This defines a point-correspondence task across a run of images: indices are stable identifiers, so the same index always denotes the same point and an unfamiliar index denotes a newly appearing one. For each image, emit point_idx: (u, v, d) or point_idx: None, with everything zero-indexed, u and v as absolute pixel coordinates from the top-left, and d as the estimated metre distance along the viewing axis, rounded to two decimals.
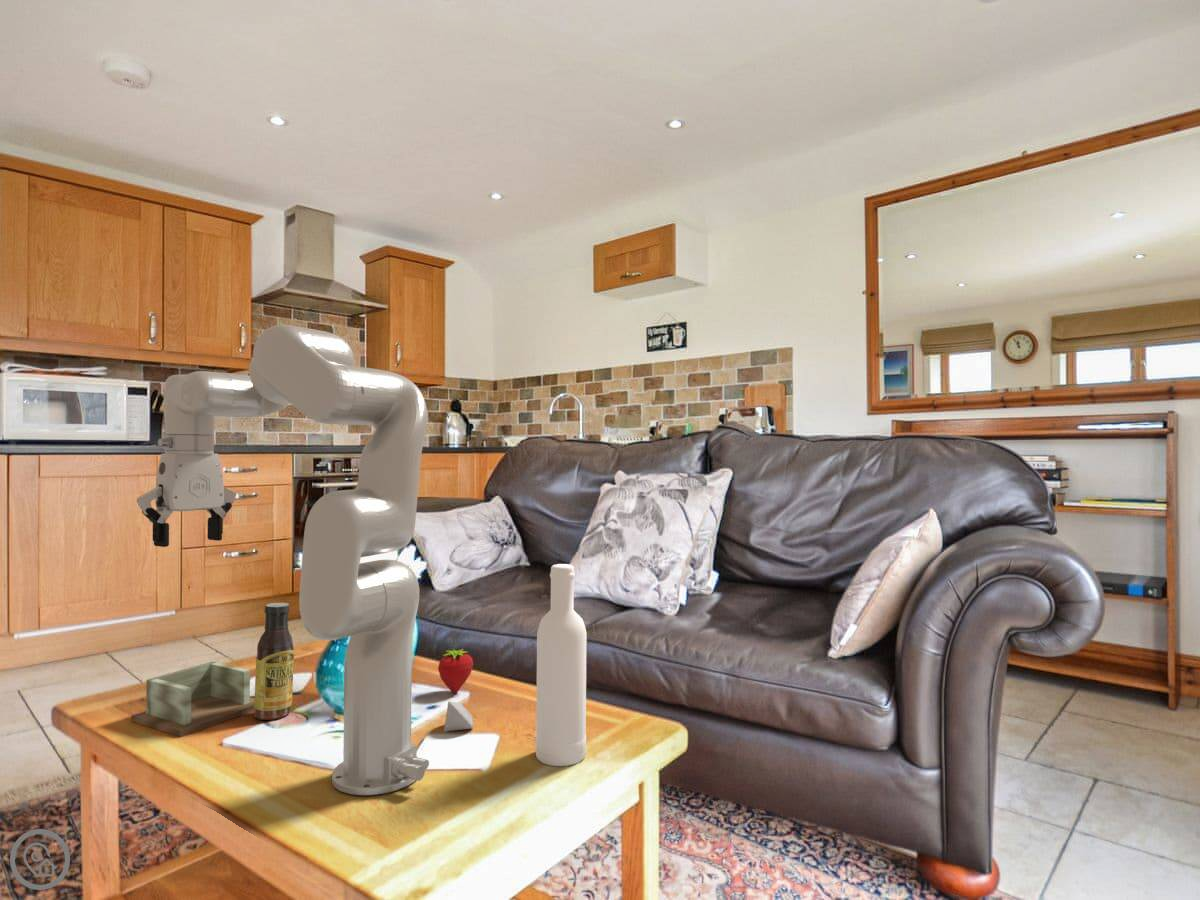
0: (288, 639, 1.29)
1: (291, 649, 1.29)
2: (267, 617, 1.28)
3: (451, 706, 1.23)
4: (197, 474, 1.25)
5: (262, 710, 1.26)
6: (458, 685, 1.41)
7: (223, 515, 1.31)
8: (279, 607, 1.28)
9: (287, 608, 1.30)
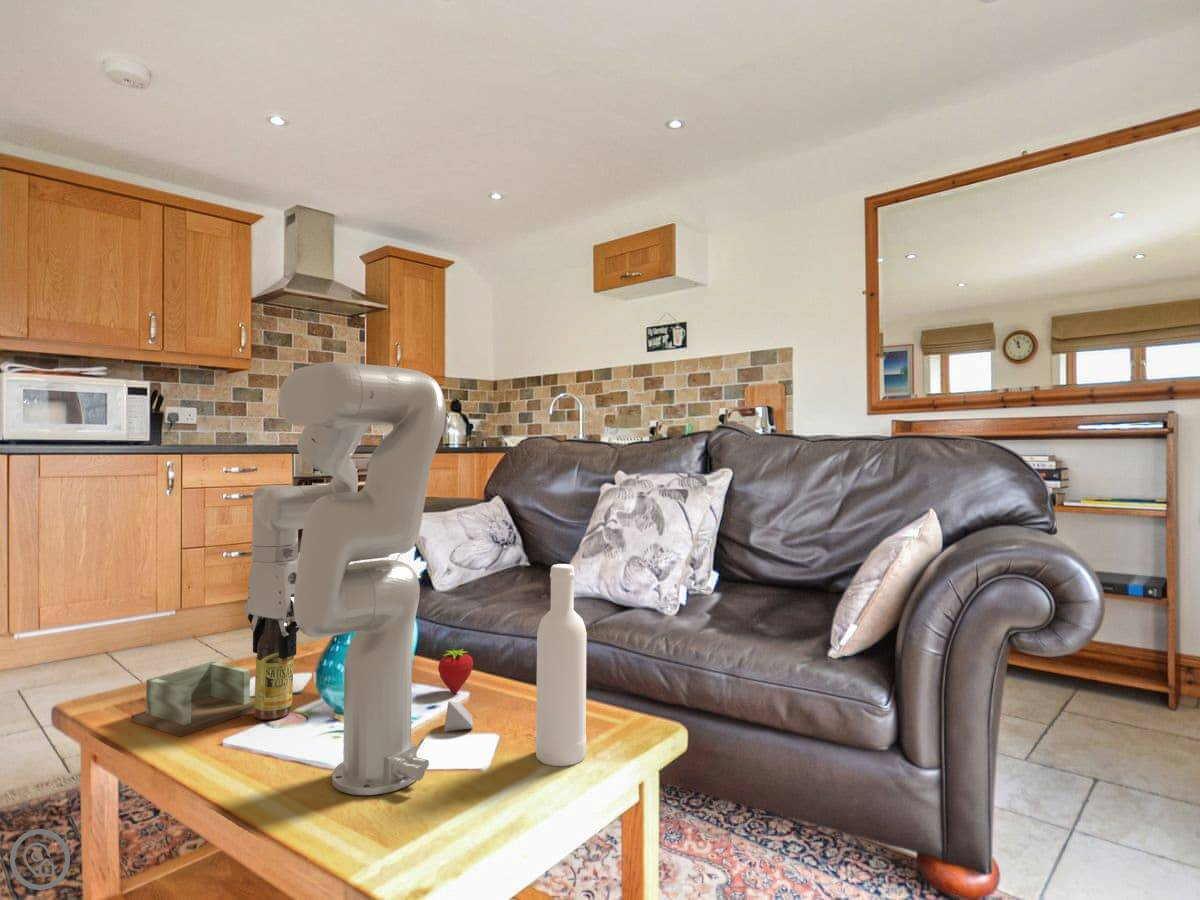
0: None
1: None
2: None
3: (450, 706, 1.23)
4: None
5: (262, 710, 1.26)
6: (458, 685, 1.41)
7: None
8: None
9: None
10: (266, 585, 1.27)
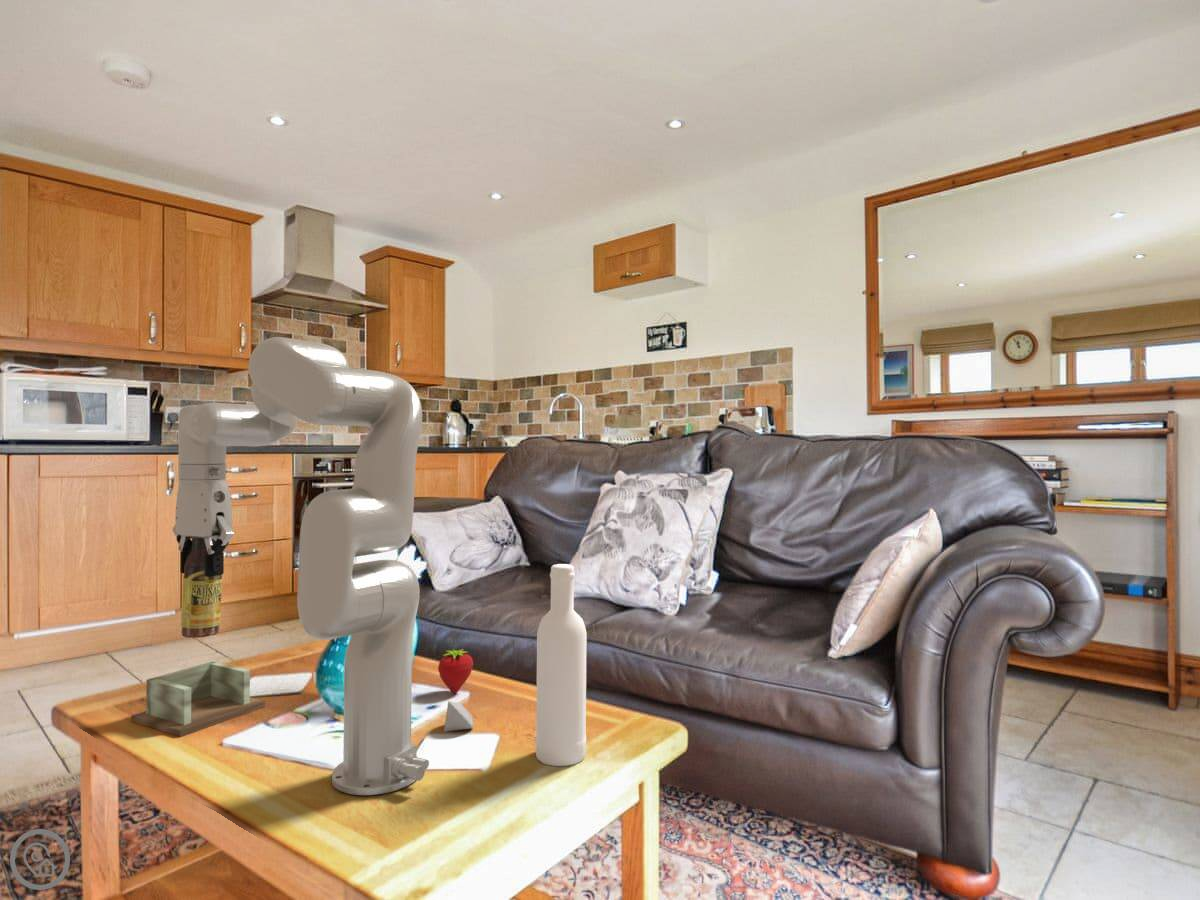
0: None
1: None
2: None
3: (450, 706, 1.23)
4: None
5: (188, 628, 1.27)
6: (458, 685, 1.41)
7: None
8: None
9: None
10: (192, 503, 1.27)
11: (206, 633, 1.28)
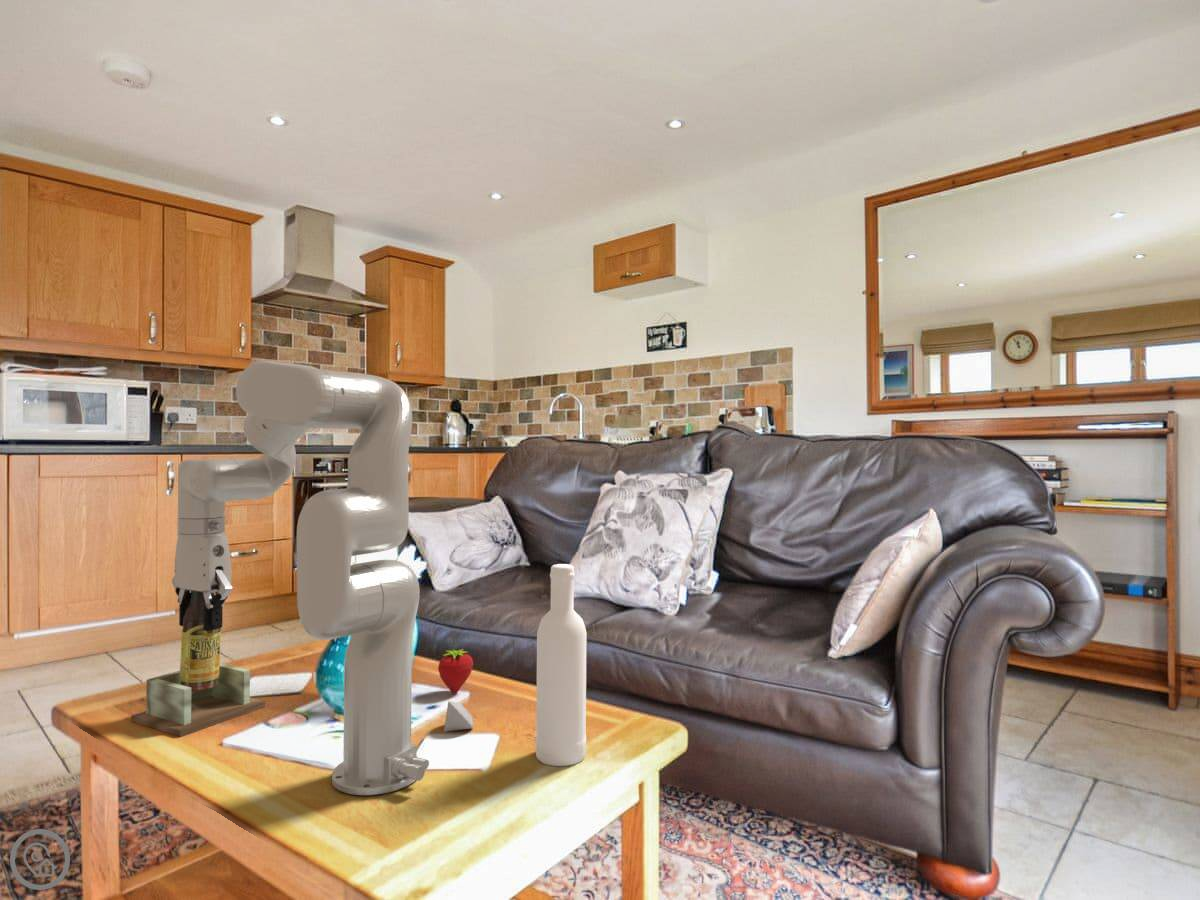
0: None
1: None
2: None
3: (450, 706, 1.23)
4: None
5: (186, 682, 1.27)
6: (458, 685, 1.41)
7: None
8: None
9: None
10: (191, 558, 1.27)
11: (205, 687, 1.28)
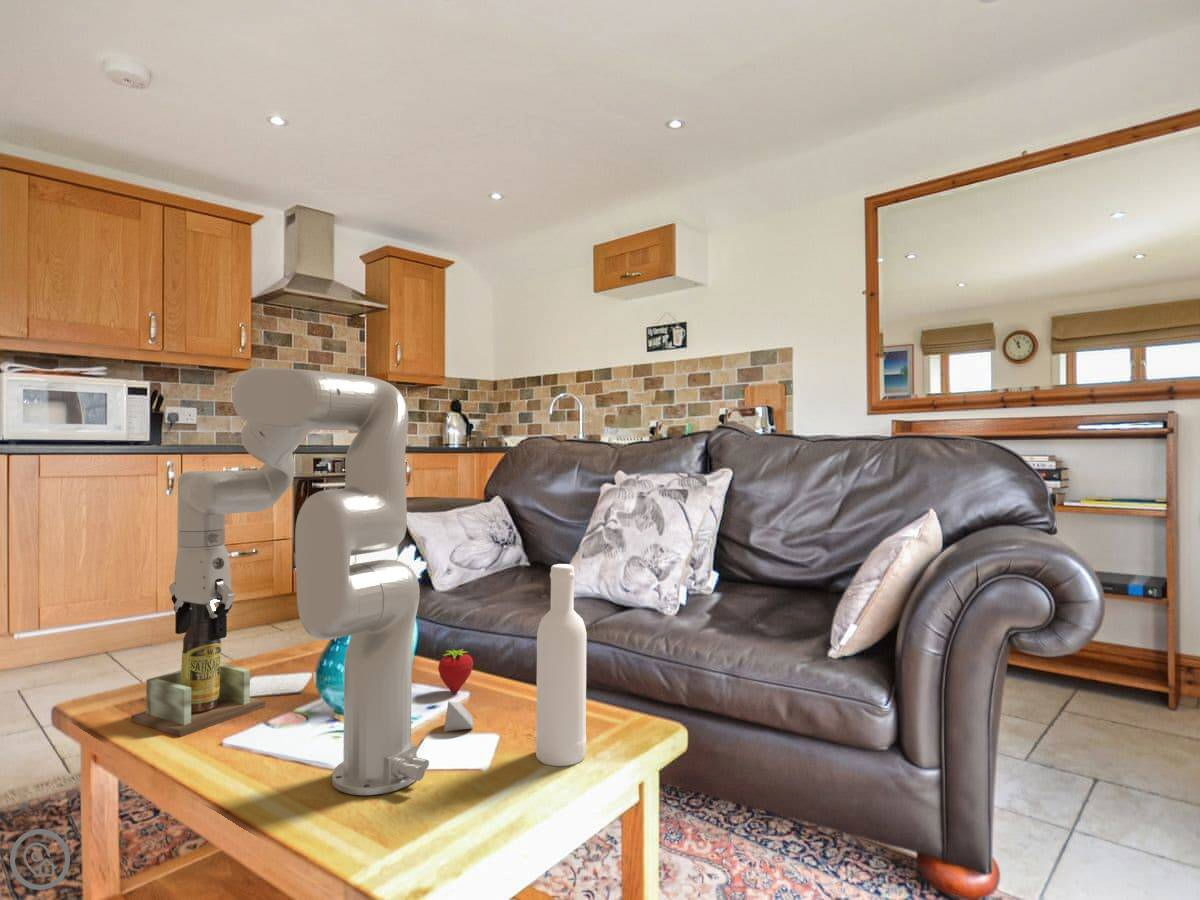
0: None
1: (217, 642, 1.30)
2: (193, 610, 1.29)
3: (450, 706, 1.23)
4: None
5: None
6: (458, 685, 1.41)
7: None
8: None
9: None
10: (191, 570, 1.27)
11: (205, 708, 1.28)
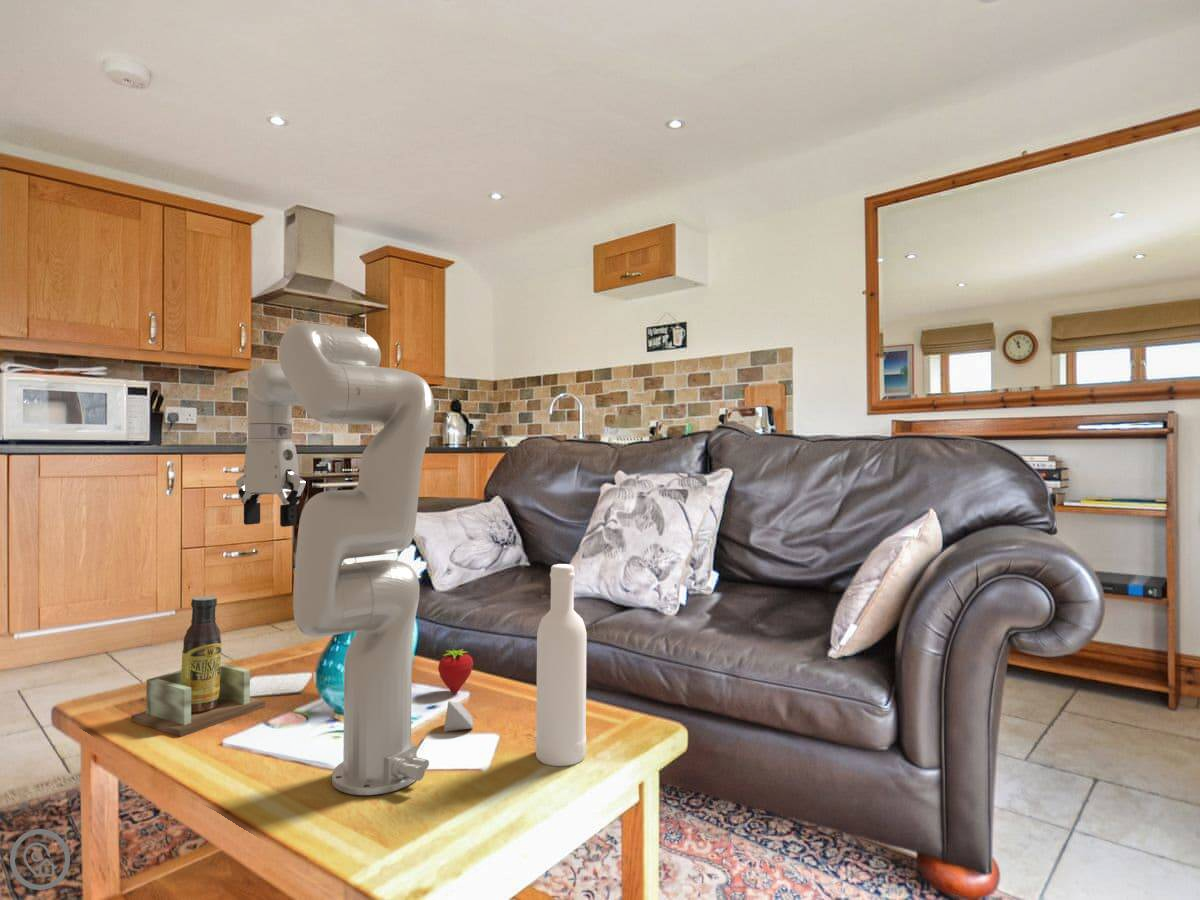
0: (215, 632, 1.30)
1: (218, 642, 1.30)
2: (193, 610, 1.29)
3: (450, 706, 1.23)
4: None
5: None
6: (458, 685, 1.41)
7: None
8: (205, 601, 1.29)
9: (214, 601, 1.30)
10: (262, 461, 1.33)
11: (205, 708, 1.28)
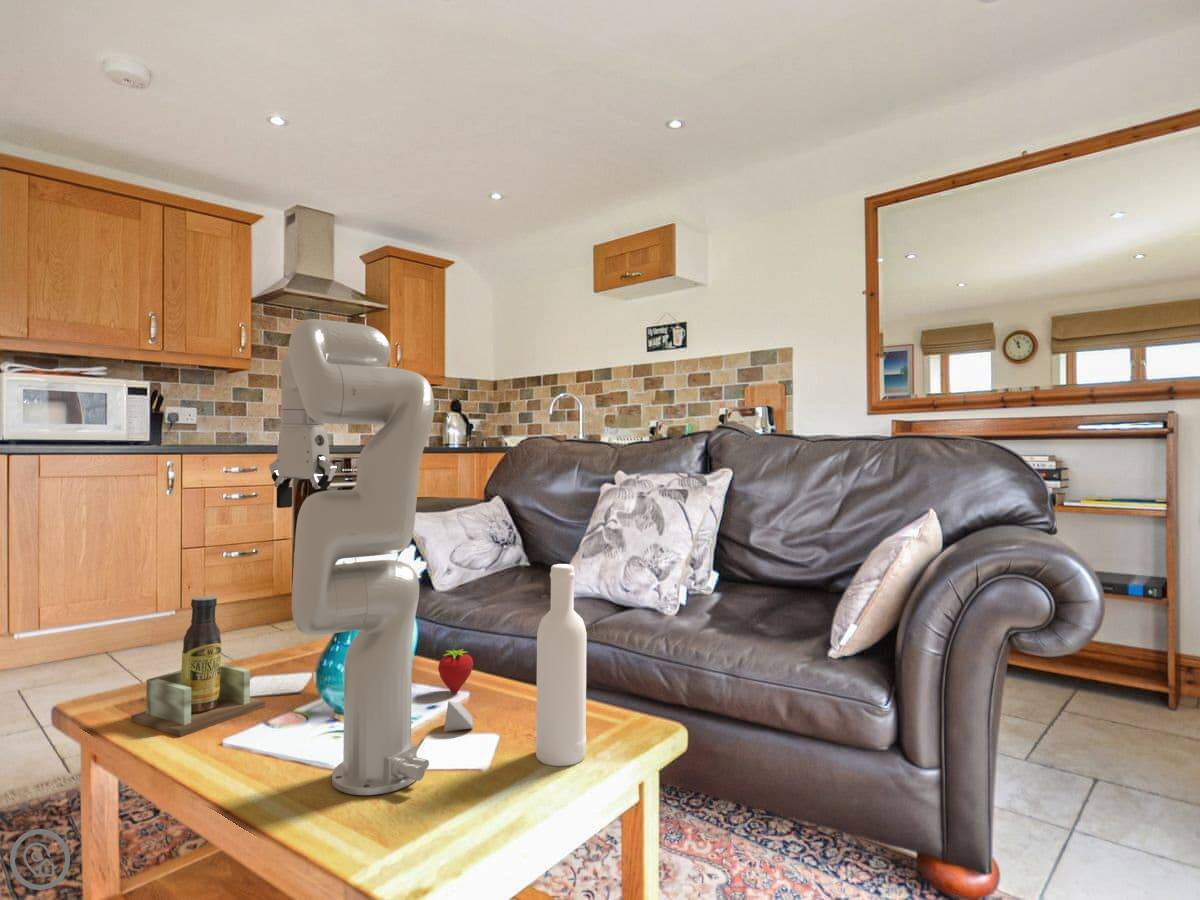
0: (215, 632, 1.30)
1: (218, 642, 1.30)
2: (193, 610, 1.29)
3: (450, 706, 1.23)
4: None
5: None
6: (458, 685, 1.41)
7: None
8: (205, 601, 1.29)
9: (214, 601, 1.30)
10: (294, 446, 1.37)
11: (205, 708, 1.28)
